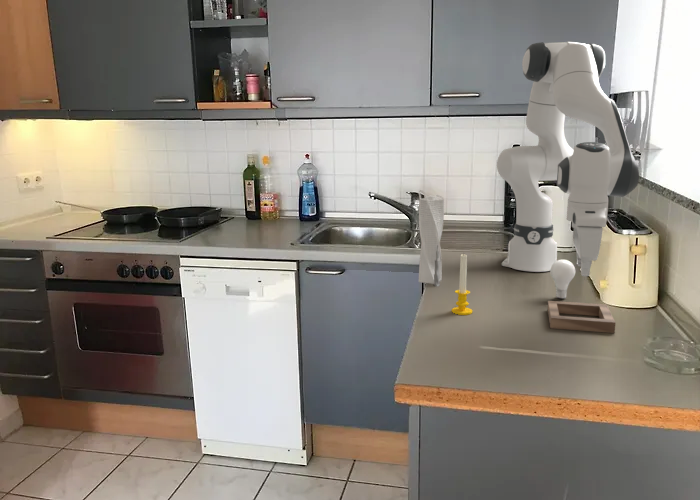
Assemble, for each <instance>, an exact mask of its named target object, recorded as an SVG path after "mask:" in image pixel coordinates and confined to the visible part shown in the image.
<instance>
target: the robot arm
mask: <svg viewBox="0 0 700 500" xmlns="http://www.w3.org/2000/svg"><path fill="white" fill-rule="evenodd" d="M521 63H522V72H523V76H524V77H525V78H526V80H529V81H531V82H532V85H531V86H532V87H531V90H530V94H529V100H528V105H527V112H526V117H525V125H526V127H527V129H528V130H529V132H531V133H532V134H534V135H535V136H537V137H538V143H537V145H519V146H513V147H509V148H505V149H503V150H502V151H501V152H500V153H499V155H498V157H497V161H496V168H497V172H498V174H499V176H500V177H501V178H502V179H503V180H504V181H505V182H506V183H508V185H509V186H510V188H511V189H512V191H513V193H514V197H515V203H516V204H515V205H516V206H515V207H516V209H515V211H516V215H515V216H516V218H515V219H516V220H515V223H514V226H513V227H514V228H513V235H514V236H513V237H512V238H511V239H510V240H509V242H508V244H507V245H508V246H507V250H508V252H507V257H506V258H505V259H504V260H503V261H502V262H501V266H503V267H507V268H512V269H513V270H517V271H523V272H535V273H540V272H550V269H551V266H552V264H553V263H554V262H556V261H558V260H557V257H558V242H556V241H555V240H554V238H553V236H554V225H553V214H554V212H553V211H554V202H553V199H552V198H551V197H550V196H549V195H548V194H546V193H545V192H542V191H541V189H540V186H539V181H542V182H543V181H545V182H546V181H556V187H558V188H559V190H561V191H562V192H563V193H564V194H569V195H568V198H567V211H566V220H567V221H569V222H571V227H572V228H573V231H572V232H573V234H572V243H573V246H574V248H575V250H576V265H577V267H580V275H581V276H582V277H589V276H591V275H590V273H591V271H590V270H591V267H592V264H593V263H592V262H593V261H598V258H599V254H600V249H601V243H602V238H603V229H604V228H605V227H606V226H607V221H608V210H609V197H616V198H617V197H619V198H624V197H626V196H627V195H629V194H630V193H631V192H633V191H634V190H635V189H636V188H637V186H638V185H639V182H640V181H639V180H640V173H639V166H638V163H637V161H636V158H635V156H634V155H633V153H632V150H631V147H630V144H629V140H628V137H627V134H626V130H625V126H624V123H623V120H622V117H621V114H620V112H619V109H618V106H617V103H616V102H615V100H613V99H612V98H610V97H608V96H607V94H606V93H604V91H603V90H602V88H601V86H600V82H599V79H600V78H601V76H603V72H604V69H605V66H606V53H605V50H604V49H603V47H602V46H600V45H597V44H595V43H588V44H586V43H581V42H575V41H565V42H562V41H561V42H541V41H539V42H535V43H532V44H530V45H529V46H528V47H527V48H526V50H525V53H524V55H523V57H522V62H521ZM566 117H568V118H570V119H572V120H576V121H580V122H582V123H583V122H584V123H585V124H589V125H592V126H593V127H596V128H598V130H600V131H601V133H602V134H603V137H604V140H605V143H601V142H595V141H588V142H587V141H586V142H580V143H578V144H575V146H574V147H571V146H570V145H569V144H568V141H567V139H566V136H565V135H566V134H565V130H564V129H565V119H566ZM608 196H609V197H608Z"/></svg>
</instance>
